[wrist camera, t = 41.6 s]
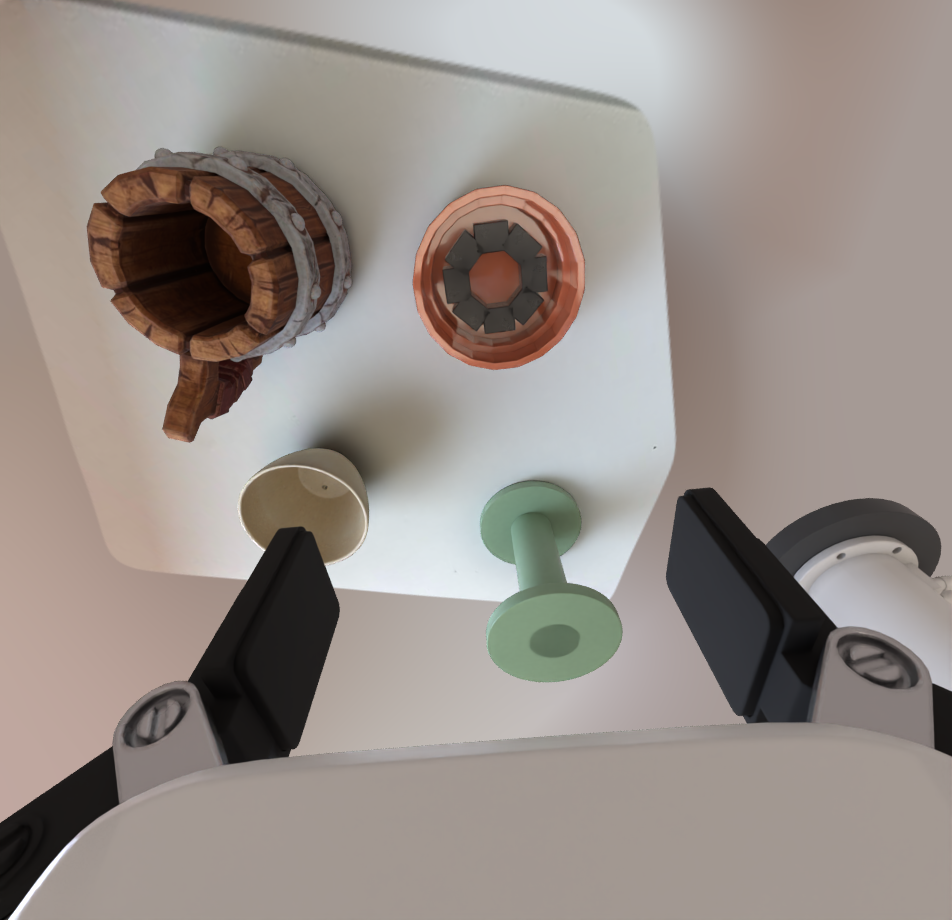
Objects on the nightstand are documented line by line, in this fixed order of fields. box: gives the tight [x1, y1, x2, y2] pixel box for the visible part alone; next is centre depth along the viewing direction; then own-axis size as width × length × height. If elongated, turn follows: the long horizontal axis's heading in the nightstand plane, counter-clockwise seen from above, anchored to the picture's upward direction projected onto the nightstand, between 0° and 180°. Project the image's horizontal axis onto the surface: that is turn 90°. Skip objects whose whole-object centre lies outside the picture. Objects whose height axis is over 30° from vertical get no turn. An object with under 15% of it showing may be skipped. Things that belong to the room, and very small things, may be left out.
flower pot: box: [238, 448, 369, 566], centre depth 38 cm, size 10×10×7 cm
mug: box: [87, 147, 352, 443], centre depth 27 cm, size 12×14×15 cm
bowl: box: [413, 185, 585, 370], centre depth 31 cm, size 11×11×5 cm
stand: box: [480, 481, 622, 682], centre depth 38 cm, size 10×10×14 cm
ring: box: [442, 219, 548, 334], centre depth 31 cm, size 7×7×2 cm
